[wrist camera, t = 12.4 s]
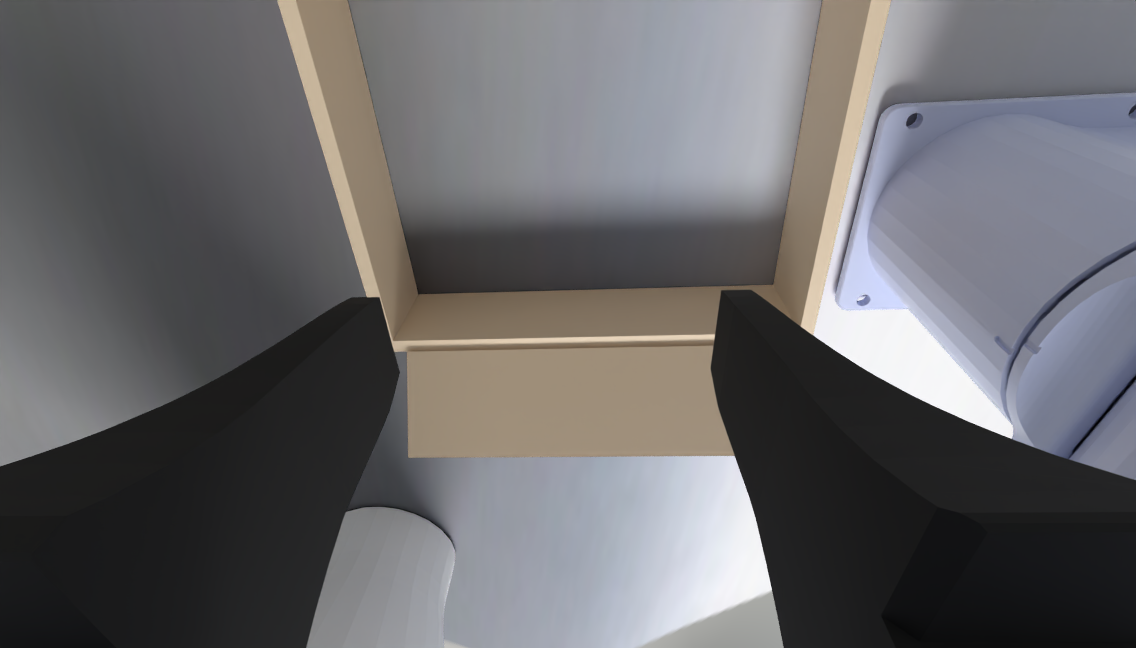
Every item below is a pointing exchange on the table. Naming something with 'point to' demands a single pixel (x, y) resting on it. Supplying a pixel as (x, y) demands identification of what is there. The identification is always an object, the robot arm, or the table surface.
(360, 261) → the carton
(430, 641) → the vase
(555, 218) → the table surface
